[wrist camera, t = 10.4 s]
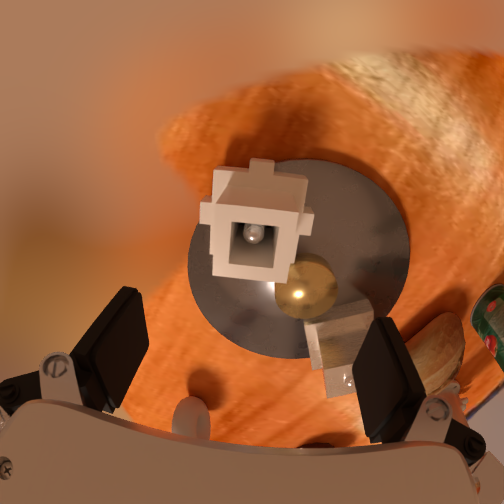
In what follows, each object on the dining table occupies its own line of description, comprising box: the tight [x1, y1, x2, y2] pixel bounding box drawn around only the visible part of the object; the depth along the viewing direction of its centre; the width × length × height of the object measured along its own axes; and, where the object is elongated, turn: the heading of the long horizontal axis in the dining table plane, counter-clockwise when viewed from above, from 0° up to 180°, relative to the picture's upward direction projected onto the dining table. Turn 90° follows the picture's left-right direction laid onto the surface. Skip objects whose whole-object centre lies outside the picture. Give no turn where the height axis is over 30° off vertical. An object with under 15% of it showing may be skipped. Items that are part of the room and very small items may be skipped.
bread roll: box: [405, 312, 465, 397], centre depth 28 cm, size 10×15×8 cm, turn 146°
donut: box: [172, 396, 211, 440], centre depth 33 cm, size 10×4×10 cm, turn 8°
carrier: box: [188, 158, 410, 398], centre depth 23 cm, size 22×22×9 cm
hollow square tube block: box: [200, 158, 314, 283], centre depth 20 cm, size 9×9×7 cm
